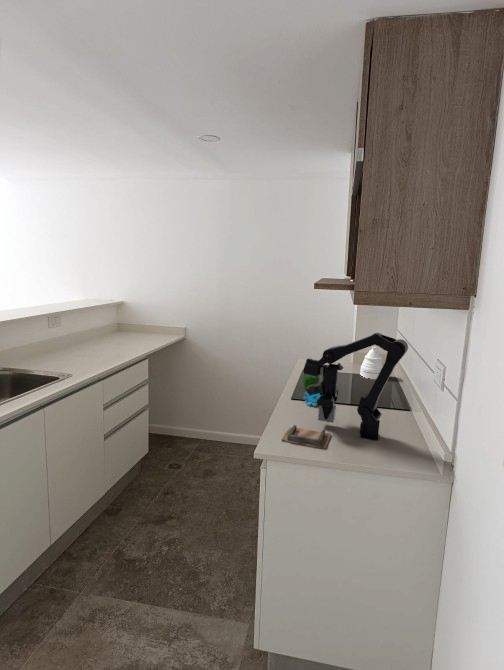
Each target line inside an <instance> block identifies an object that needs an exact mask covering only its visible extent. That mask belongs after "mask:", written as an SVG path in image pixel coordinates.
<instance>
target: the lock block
mask: <svg viewBox="0 0 504 670" xmlns="http://www.w3.org/2000/svg"><path fill="white" fill-rule="evenodd" d="M336 409H337V405H336V404H334V407H333V409H332V411H331V413H330V415H329V417H328V419H324V414H323V409H322V407H321V406H318V416H317V417H318V418H317V421H320V422H327V423H333V424H334V422H335V419H336V411H337V410H336Z"/></svg>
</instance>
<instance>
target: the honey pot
mask: <svg viewBox="0 0 504 670" xmlns="http://www.w3.org/2000/svg"><path fill="white" fill-rule="evenodd" d="M377 347H378V346H371V349H370V350H369V351H368V352H367V354H365V355H364V359H363V361H362V364H361V365H360V369H359V370H360V371H359V372H360V373H359V376H360V375H361V376H363V377H362V378H364V377H365V378H364V379H368V378H370V379H369V380H376V379H377V377H378V375H379V373H380V371H381V369H382V367H383V363H382V362H383V361H382V360H383V356H380V353H379V352H378V349H377ZM361 376H360V377H361Z"/></svg>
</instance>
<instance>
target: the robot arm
mask: <svg viewBox="0 0 504 670" xmlns="http://www.w3.org/2000/svg"><path fill="white" fill-rule="evenodd" d="M373 346H376V347H379V348H380V349H381V350H383V351H386V357H385V361H384V364H382V369H381V371H380V373H379V375H378V377H377V379H375V381H374V383H373V385H372V387H371V389H370V391H369V392H368V393H366V392H365V393H363V394H362V396H361V397H360V399H359V402H358V403H357V404H356V407H357V408H356V411H357V414H358V415H359V417H360V418H361V421H360V425H359V436H360V438H363V439H368V440H369V439H370V440H375V441H378V440H379V435H380V433H379V431H380V423H381V422H380V421H381V420H380V418H381V416H382V413H381V411H380V410H379V408H377V407H378V404H379V399H380V396H381V394H382V392H383V390H384V388H385V387H386V384H387V382H388V381H389V378H390V377H391V376H392V374H393V372H394V369H395V367H396V366H397V364H398V363H399V362H400V361H401V359H402V358H403V357H404V356H405V354H406V353H407V352H408V350H409V345H408V343H407V341H406V340H404V339H402V338H401V339H397V338H396V339H395V338H393V337H390V336H388V335H384V334H383V333H380V332H374V333H372V334H371V335H368V336H365V337H363V338H361V339H357V340H355V341H353V342H350V343H348V344H341V345H336V346H332V347H329V348H327V349H325V350H323V352H322V357H320V359H319V360H318V359H312V358H307V359H306V360H305V361H306V362H305V363H304V367H303V375H308V376H314V377H319V378H320V376H322V379H321V381H320V382H319V383H318V384H313V385H309V386H308V387H307V390H306V392H307V393H308V394H309V396H311V395H314V394H318V393H320V395H323V396H320V397H319V398H318V399H317V403H316V406H318V407H319V406H321V407H322V409H323V414H324V419H328V417H329V415H330V413H331V411H332V409H333V407H334V405H336V402H337V399H338V396H339V394H340V389H339V388H338V387H337V386H338V374H339V371H343V369H344V366H343V365H342V364H341V362H338V363H336V362H337V361H339V360H341V359H343V358H344V357H346V356H347V355H350V354H352V353H356V352H359V351H361V350H364V349H366V348H370V347H373Z"/></svg>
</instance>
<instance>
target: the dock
mask: <svg viewBox="0 0 504 670" xmlns="http://www.w3.org/2000/svg"><path fill="white" fill-rule="evenodd" d="M331 435H332V433H329V432H326V430H325V429H322V430H321V431H319V430H318V431H317V430H312V429H307V428H306V429H304V428H300V427H297V425H296V424H293V426H289V428H288V429H287V430H286V432H285V433H284V435H283V437H282V438H281V442H285V443H289V444H290V443H291V444H297V445H300V446H302V445H303V446H308V447H312V448H319V449H323V450H326V448H327V446H328V443H329V440H330V438H331Z"/></svg>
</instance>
